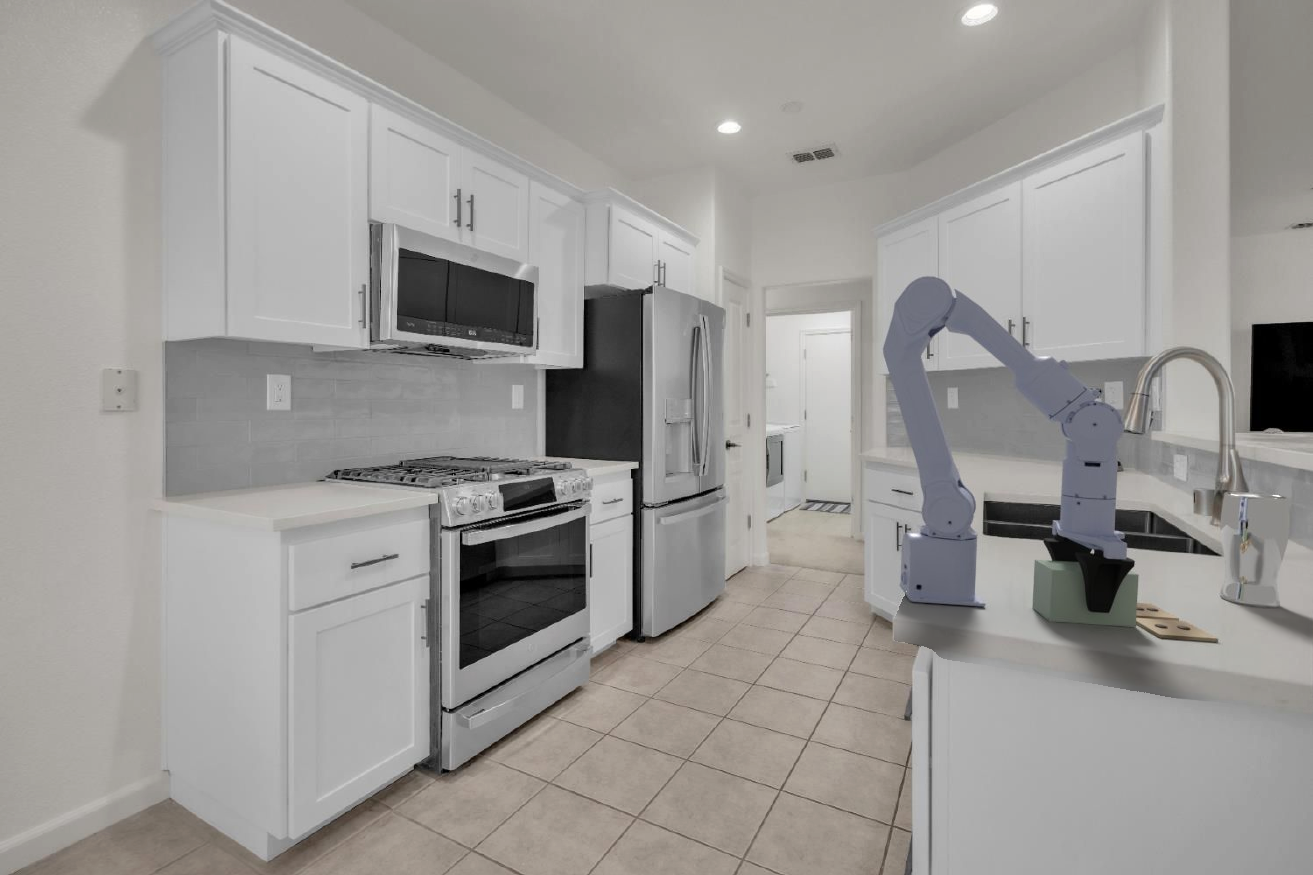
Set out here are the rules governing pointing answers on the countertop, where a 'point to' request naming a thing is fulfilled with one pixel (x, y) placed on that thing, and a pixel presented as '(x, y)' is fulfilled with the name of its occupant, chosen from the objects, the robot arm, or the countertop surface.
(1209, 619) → the countertop surface
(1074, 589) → the pale green block
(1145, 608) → the pad three
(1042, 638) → the countertop surface
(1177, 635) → the pad two
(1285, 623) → the countertop surface
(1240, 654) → the countertop surface
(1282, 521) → the beer glass
